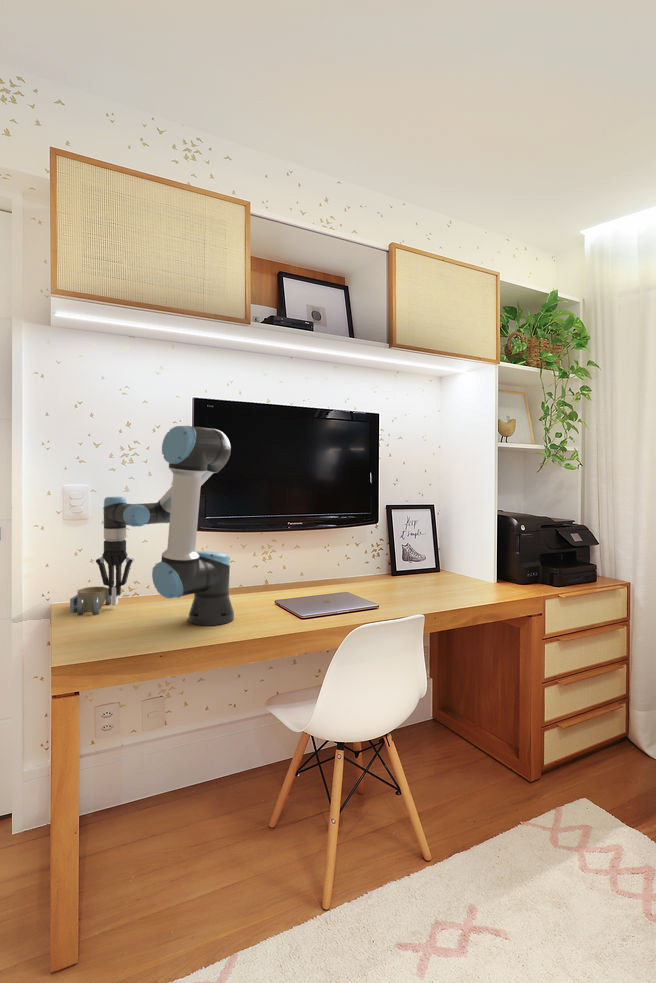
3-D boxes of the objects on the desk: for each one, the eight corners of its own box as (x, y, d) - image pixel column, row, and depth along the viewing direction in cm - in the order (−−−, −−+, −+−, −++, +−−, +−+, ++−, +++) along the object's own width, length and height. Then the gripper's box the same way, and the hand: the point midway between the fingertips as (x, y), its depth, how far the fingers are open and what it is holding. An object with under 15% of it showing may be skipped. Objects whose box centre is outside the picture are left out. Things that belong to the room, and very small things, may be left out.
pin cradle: (111, 603, 197) (112, 587, 197) (97, 615, 181) (97, 598, 181) (83, 603, 196) (83, 587, 196) (66, 615, 180) (66, 598, 180)
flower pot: (89, 604, 195) (89, 585, 194) (113, 606, 193) (113, 587, 192) (71, 611, 185) (71, 591, 185) (96, 613, 183) (96, 593, 183)
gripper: (136, 538, 193) (136, 601, 194) (100, 538, 192) (99, 601, 193) (130, 541, 186) (130, 607, 187) (92, 540, 184) (92, 607, 186)
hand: (114, 604), depth 190 cm, fingers closed
